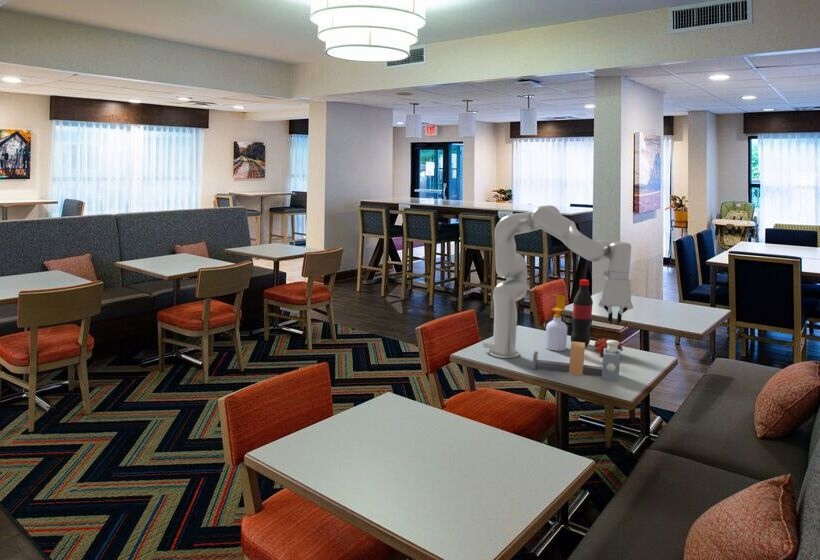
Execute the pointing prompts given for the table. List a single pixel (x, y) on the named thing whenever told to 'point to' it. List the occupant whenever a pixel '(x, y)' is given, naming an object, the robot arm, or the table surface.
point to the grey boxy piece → (611, 365)
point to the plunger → (612, 346)
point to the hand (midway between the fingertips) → (614, 323)
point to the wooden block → (577, 358)
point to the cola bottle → (582, 314)
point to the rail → (563, 367)
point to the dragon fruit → (603, 345)
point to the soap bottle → (557, 328)
